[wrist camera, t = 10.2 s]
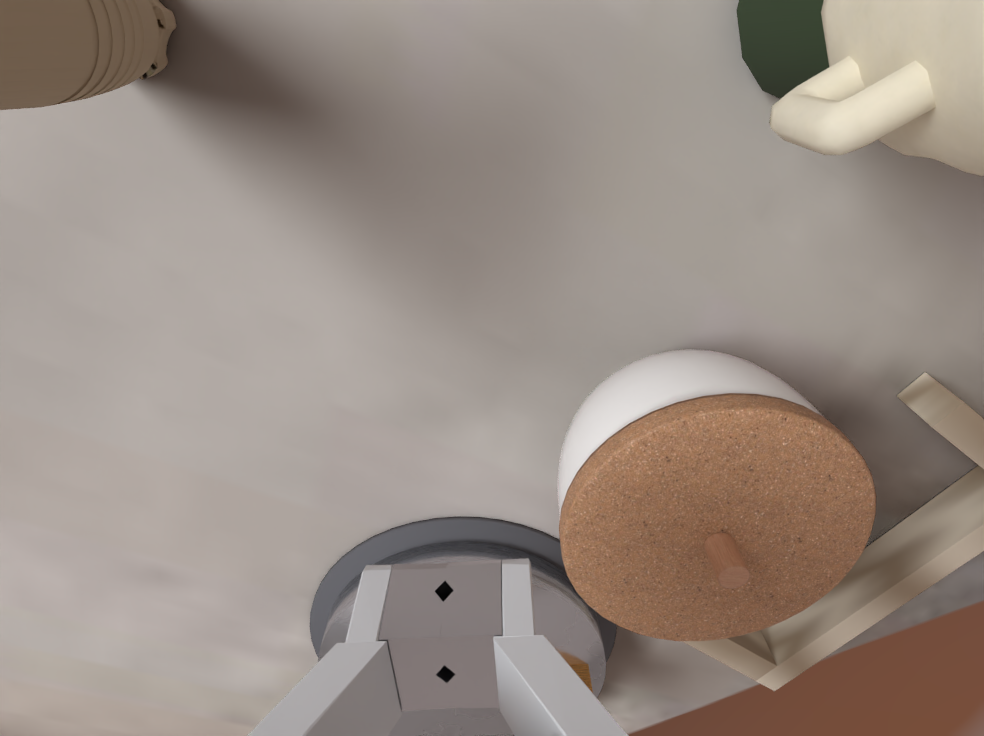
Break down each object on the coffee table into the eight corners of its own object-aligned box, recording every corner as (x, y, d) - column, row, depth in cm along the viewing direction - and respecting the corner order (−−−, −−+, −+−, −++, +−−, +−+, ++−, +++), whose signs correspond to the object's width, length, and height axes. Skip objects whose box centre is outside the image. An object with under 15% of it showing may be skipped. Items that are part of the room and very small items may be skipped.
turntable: (340, 724, 38) (312, 860, 31) (311, 540, 30) (267, 669, 24) (585, 724, 38) (605, 858, 32) (614, 543, 31) (647, 671, 25)
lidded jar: (739, 516, 31) (831, 692, 23) (527, 498, 30) (542, 673, 22) (818, 322, 26) (973, 458, 18) (565, 294, 25) (603, 423, 17)
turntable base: (495, 753, 40) (495, 758, 40) (258, 655, 35) (256, 660, 35) (679, 607, 34) (680, 611, 34) (419, 462, 29) (419, 466, 29)
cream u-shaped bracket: (756, 650, 36) (774, 691, 34) (656, 594, 33) (668, 633, 31) (1026, 458, 29) (1070, 492, 27) (925, 372, 27) (963, 402, 25)
